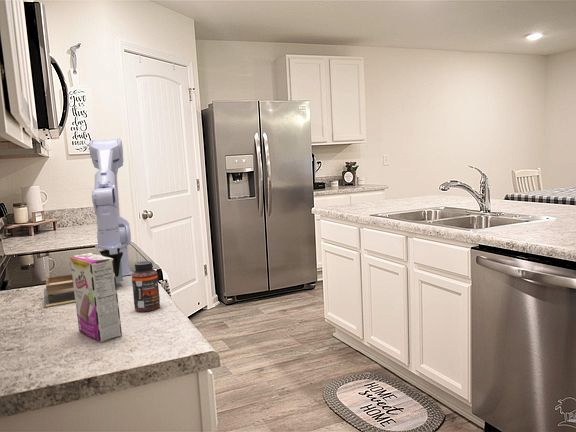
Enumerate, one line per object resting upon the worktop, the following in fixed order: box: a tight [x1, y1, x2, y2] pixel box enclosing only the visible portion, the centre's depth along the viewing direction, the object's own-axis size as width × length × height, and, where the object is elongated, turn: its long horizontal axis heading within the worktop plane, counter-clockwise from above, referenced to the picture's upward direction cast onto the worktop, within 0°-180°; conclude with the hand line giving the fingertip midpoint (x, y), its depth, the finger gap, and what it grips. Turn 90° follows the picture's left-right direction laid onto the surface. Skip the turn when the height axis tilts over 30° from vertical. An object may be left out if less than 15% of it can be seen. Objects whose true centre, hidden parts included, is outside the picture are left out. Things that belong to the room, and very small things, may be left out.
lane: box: [43, 288, 76, 309], centre depth 135 cm, size 22×13×1 cm, turn 27°
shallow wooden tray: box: [45, 273, 74, 302], centre depth 131 cm, size 11×11×5 cm
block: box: [115, 261, 124, 283], centre depth 140 cm, size 4×4×6 cm
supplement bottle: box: [131, 260, 161, 313], centre depth 115 cm, size 6×6×11 cm
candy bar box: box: [69, 252, 123, 343], centre depth 99 cm, size 11×5×16 cm, turn 44°
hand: (113, 275), depth 141 cm, fingers closed on block, 4 cm apart
